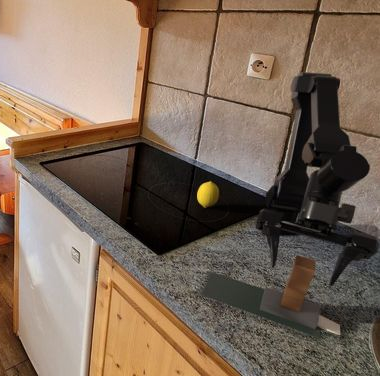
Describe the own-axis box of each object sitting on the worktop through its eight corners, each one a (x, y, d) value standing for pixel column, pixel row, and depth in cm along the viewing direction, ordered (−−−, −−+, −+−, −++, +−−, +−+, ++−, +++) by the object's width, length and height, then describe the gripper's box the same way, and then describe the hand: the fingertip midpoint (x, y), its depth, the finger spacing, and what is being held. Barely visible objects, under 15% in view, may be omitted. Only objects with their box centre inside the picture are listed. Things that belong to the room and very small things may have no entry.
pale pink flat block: (340, 327, 73) (341, 325, 73) (340, 338, 71) (342, 336, 70) (316, 315, 74) (317, 313, 74) (315, 325, 72) (317, 323, 72)
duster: (316, 313, 75) (335, 264, 71) (315, 329, 71) (335, 279, 67) (263, 294, 80) (278, 247, 75) (259, 309, 76) (275, 260, 71)
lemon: (205, 213, 111) (211, 187, 107) (190, 205, 115) (195, 179, 112) (219, 209, 113) (226, 183, 110) (204, 201, 118) (210, 176, 114)
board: (320, 310, 77) (321, 308, 76) (319, 341, 70) (320, 338, 70) (210, 273, 86) (211, 271, 86) (200, 297, 79) (201, 294, 79)
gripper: (271, 169, 75) (247, 247, 71) (399, 196, 66) (379, 287, 62) (266, 192, 84) (244, 262, 80) (377, 218, 75) (358, 298, 71)
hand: (301, 276), depth 73 cm, fingers open, 9 cm apart
